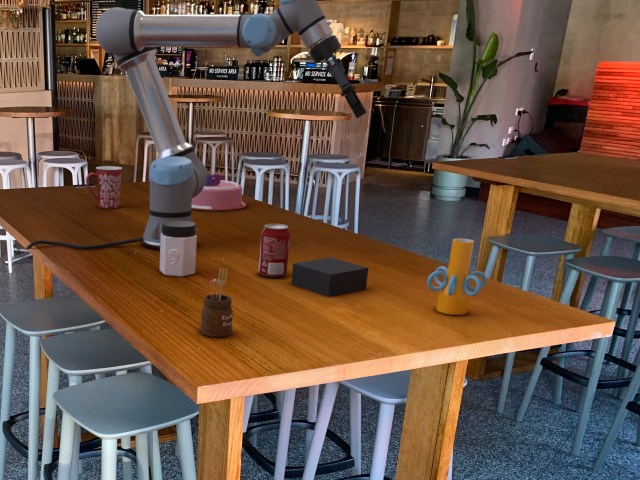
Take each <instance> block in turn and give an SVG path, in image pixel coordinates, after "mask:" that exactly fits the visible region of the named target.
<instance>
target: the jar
mask: <svg viewBox="0 0 640 480" xmlns="http://www.w3.org/2000/svg"><path fill="white" fill-rule="evenodd" d="M196 226H197V224H196V223H195V222H194V221H192V222H190V221H180V220H175V221H166V222H163V223H162V233H161V241H160V250H159V252H160V253H159V272H161V273H162V274H163V275H164V276H169V277H187V276H191V275H195V274H196V268H197V267H196V265H197V264H196V263H197V246H196V243H197V244H198V236H197V233H196V232H197V231H196ZM195 234H196V235H195Z"/></svg>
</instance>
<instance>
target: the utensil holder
mask: <svg viewBox="0 0 640 480" xmlns="http://www.w3.org/2000/svg"><path fill="white" fill-rule="evenodd" d="M217 277H218V279H217V278H214V279H211V280H210V281H209V283H208V285H211V284H213V283H215V282H216V285H218V286H220V288H219V293H218V291H216V293H215V294H214V291H215V290H214V288H215V285H212V291H208V293H209V294H208V295H205V296H204V298H203V304H204V305H202V307H201V314H200V332H201V334H202V335H204V336H206V337H210V338H224V337H228V336H230V335H231V333H232V330H233V315H234V313H233V311H234V310H233V308H232V306H231V305H232V298H231V296H229V295H227V294H222V293H223V287H224V286H225V285H227V278H228V268H225V267H219V270H218V276H217ZM211 292H212V293H211Z"/></svg>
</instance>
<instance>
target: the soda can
mask: <svg viewBox="0 0 640 480" xmlns="http://www.w3.org/2000/svg"><path fill="white" fill-rule="evenodd" d="M288 228H289V226H288V225H286V224H281V223H267V224H264V228H263V230H262V231H261V233H260V245H259V259H258V273H259V274H260V275H261V276H262V277H265V278H269V279H278V278H283V277H284V276H286V275H287V273H288V263H289V262H288V261H289V250H290V240H291V233H290V231H289V229H288Z"/></svg>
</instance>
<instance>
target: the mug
mask: <svg viewBox="0 0 640 480" xmlns="http://www.w3.org/2000/svg"><path fill="white" fill-rule="evenodd" d="M95 169H96V173H95V172H89V173H88V174H87V175H86V177H85V185H86V188H87V189H88V191H89V193H90V194H91V196H92V197H93V198H94V199H95V200H96V202H98V203H97V204H98V208H100V209H107V210H109V209H111V210H112V209H118V208H119V207H120V199H121V185H122V184H121V181H122V170H123V167H120V166H114V165H113V166H108V165H105V166H103V165H102V166H97V167H95ZM92 176H93V177H94V179H95V181H96V182H97V183H96V185H97V195H96V194H95V193H94V191H93V189H92V188H91V186H90V181H89V180H90V177H92Z"/></svg>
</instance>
